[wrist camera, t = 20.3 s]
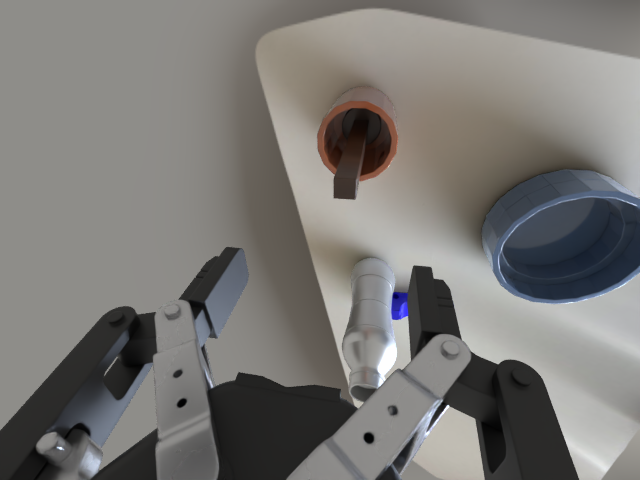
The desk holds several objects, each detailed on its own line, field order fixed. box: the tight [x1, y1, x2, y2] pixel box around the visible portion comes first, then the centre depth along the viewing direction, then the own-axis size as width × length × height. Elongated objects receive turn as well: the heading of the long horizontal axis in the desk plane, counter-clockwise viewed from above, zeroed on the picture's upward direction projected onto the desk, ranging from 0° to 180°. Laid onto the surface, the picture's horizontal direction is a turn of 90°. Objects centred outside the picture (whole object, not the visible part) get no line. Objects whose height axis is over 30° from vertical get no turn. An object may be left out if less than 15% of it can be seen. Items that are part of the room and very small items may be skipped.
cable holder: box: [391, 292, 408, 320], centre depth 49 cm, size 8×4×4 cm, turn 94°
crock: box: [317, 86, 398, 181], centre depth 32 cm, size 8×8×8 cm
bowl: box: [481, 169, 640, 304], centre depth 36 cm, size 15×15×6 cm
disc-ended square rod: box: [334, 108, 381, 200], centre depth 28 cm, size 4×4×17 cm
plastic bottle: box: [342, 258, 397, 402], centre depth 40 cm, size 6×7×20 cm
